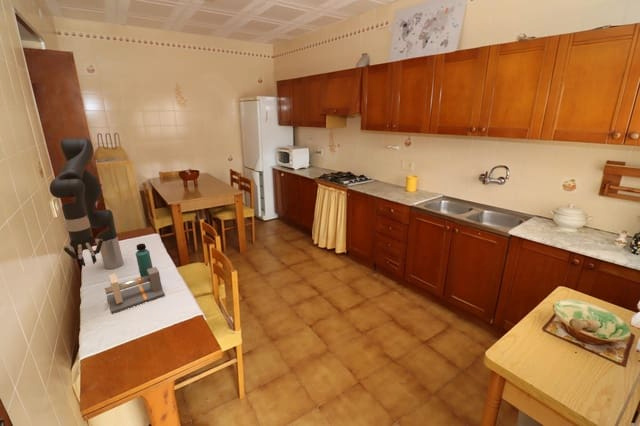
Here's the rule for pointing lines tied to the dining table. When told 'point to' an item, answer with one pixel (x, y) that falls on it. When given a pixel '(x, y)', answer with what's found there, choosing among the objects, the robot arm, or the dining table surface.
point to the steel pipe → (129, 284)
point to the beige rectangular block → (116, 288)
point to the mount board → (138, 293)
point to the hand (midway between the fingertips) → (89, 264)
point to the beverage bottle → (143, 259)
